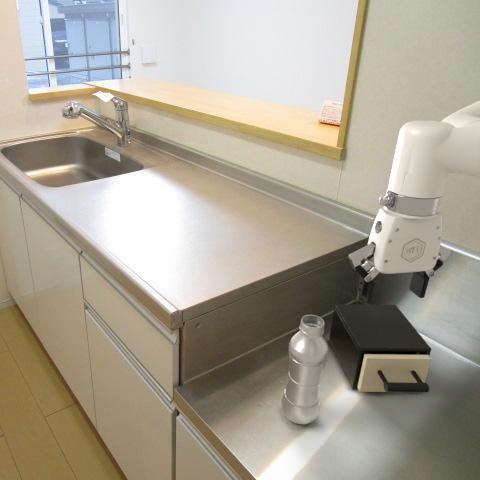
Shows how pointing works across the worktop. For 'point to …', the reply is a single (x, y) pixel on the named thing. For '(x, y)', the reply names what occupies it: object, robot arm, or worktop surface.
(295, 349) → the plastic bottle
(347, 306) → the black rectangular box
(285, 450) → the worktop surface
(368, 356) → the beige drawer
